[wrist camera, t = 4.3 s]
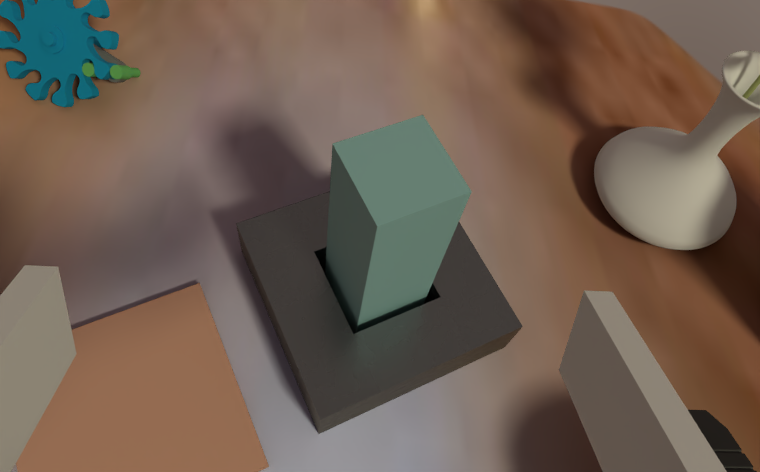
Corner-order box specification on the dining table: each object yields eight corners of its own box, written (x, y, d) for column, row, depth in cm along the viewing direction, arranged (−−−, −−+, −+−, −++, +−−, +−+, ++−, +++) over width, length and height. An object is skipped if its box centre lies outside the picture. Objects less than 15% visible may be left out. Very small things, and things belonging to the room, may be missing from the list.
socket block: (241, 251, 44) (236, 223, 41) (413, 189, 48) (421, 159, 45) (318, 433, 38) (319, 419, 35) (504, 346, 43) (522, 326, 39)
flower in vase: (664, 286, 46) (981, 31, 25) (557, 182, 50) (750, -120, 28) (759, 203, 51) (1094, -72, 29) (655, 114, 55) (885, -190, 33)
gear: (-28, 63, 48) (14, -60, 45) (28, 66, 53) (69, -43, 50) (89, 139, 47) (140, 20, 44) (133, 133, 53) (181, 28, 50)
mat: (-2, 361, 39) (-6, 358, 38) (200, 286, 42) (199, 282, 42) (43, 572, 33) (39, 572, 33) (268, 466, 37) (268, 465, 37)
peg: (324, 281, 44) (332, 143, 30) (387, 257, 45) (422, 114, 31) (353, 343, 42) (377, 226, 28) (418, 315, 43) (471, 191, 29)
